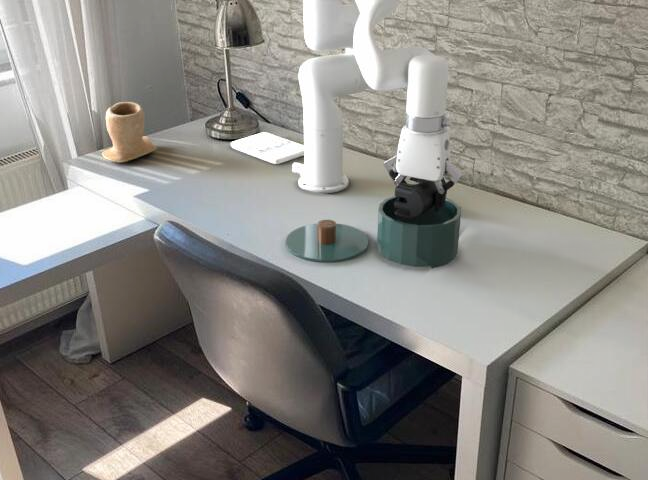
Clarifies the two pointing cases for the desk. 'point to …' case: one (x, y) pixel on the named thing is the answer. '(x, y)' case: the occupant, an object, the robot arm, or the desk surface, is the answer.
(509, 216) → the desk surface
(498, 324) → the desk surface
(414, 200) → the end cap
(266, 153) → the white flat block
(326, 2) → the robot arm
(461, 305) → the desk surface
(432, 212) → the canister
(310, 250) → the lid
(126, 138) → the stone cup
